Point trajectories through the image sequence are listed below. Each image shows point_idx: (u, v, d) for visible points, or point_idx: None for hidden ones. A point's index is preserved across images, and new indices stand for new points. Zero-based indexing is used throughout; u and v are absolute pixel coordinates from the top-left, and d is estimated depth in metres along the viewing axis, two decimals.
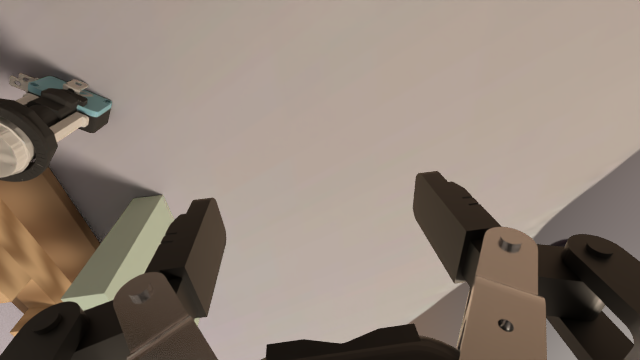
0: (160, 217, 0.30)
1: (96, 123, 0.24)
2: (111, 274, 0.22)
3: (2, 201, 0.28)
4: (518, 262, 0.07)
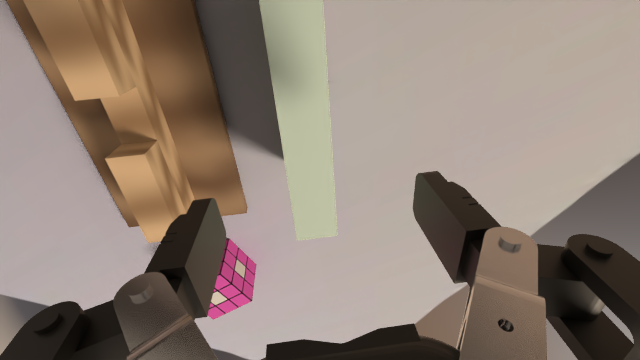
0: None
1: None
2: None
3: None
4: (518, 262, 0.07)
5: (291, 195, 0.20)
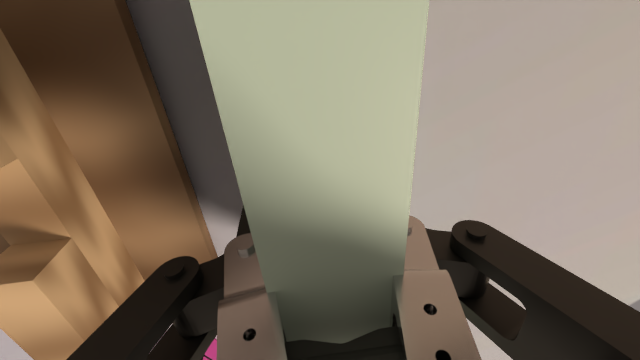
0: None
1: None
2: None
3: None
4: None
5: None
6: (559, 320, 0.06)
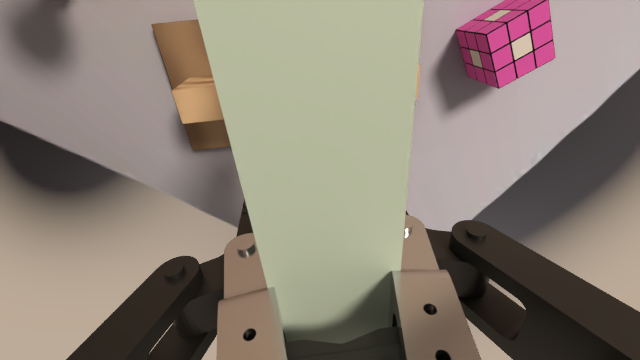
0: None
1: None
2: None
3: (197, 76, 0.30)
4: None
5: None
6: (559, 320, 0.06)
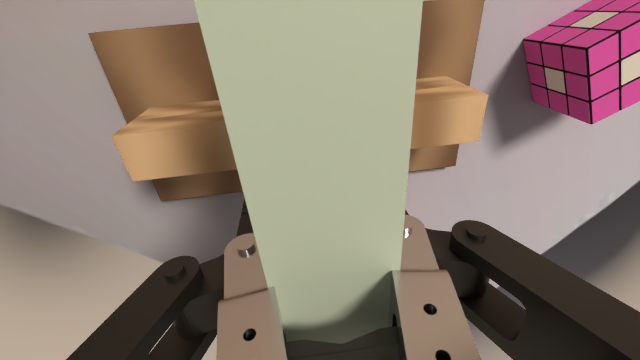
0: None
1: None
2: None
3: (161, 106, 0.21)
4: (402, 244, 0.08)
5: None
6: (559, 320, 0.06)
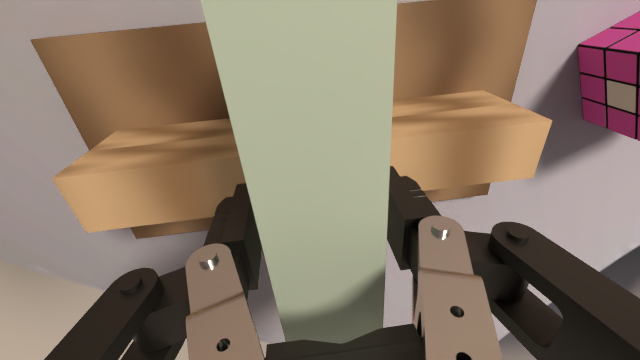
0: None
1: None
2: None
3: (130, 129, 0.17)
4: (443, 246, 0.08)
5: None
6: (598, 330, 0.06)
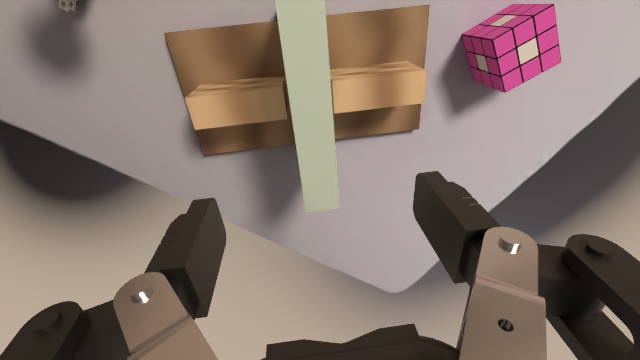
0: None
1: None
2: None
3: (208, 83, 0.31)
4: (518, 262, 0.07)
5: (301, 172, 0.24)
6: None
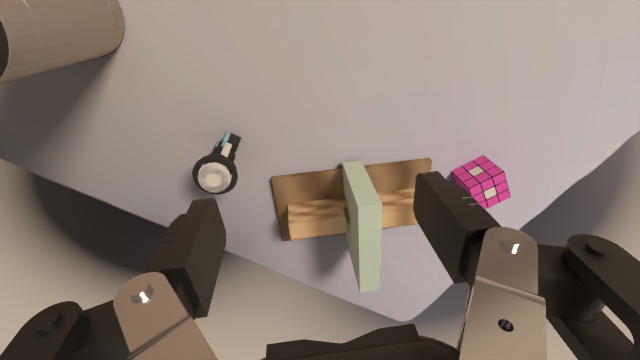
0: None
1: (232, 140, 0.41)
2: (375, 196, 0.38)
3: (293, 203, 0.49)
4: (518, 262, 0.07)
5: (360, 274, 0.42)
6: None
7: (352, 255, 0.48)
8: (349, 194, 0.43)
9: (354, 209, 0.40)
